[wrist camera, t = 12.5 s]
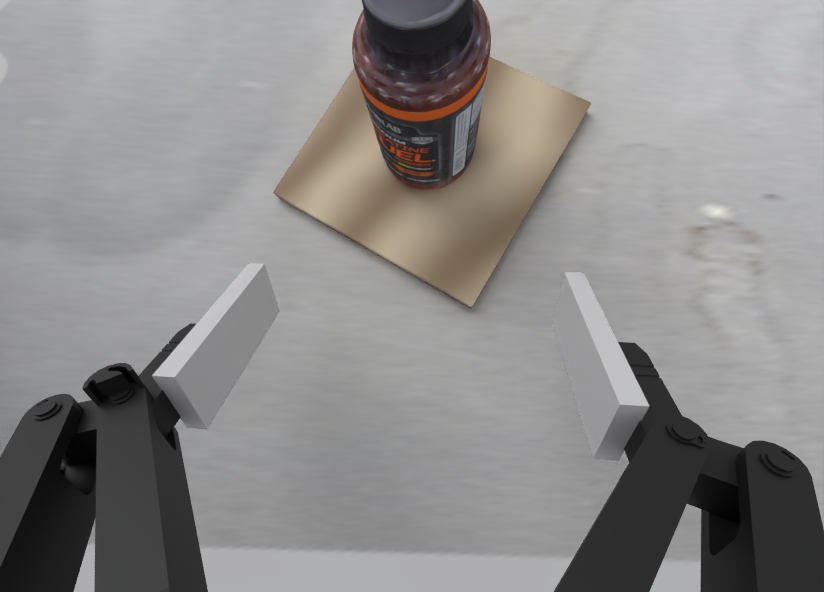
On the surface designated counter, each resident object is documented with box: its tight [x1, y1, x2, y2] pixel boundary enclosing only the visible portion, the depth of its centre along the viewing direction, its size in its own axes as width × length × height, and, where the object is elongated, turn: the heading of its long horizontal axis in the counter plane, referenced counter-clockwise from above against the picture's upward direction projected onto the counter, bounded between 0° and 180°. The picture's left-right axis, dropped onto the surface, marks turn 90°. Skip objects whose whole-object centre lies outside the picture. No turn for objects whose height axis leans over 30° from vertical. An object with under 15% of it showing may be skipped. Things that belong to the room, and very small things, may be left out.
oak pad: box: [273, 57, 591, 308], centre depth 24 cm, size 15×15×1 cm
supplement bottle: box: [352, 0, 491, 189], centre depth 18 cm, size 6×6×11 cm
